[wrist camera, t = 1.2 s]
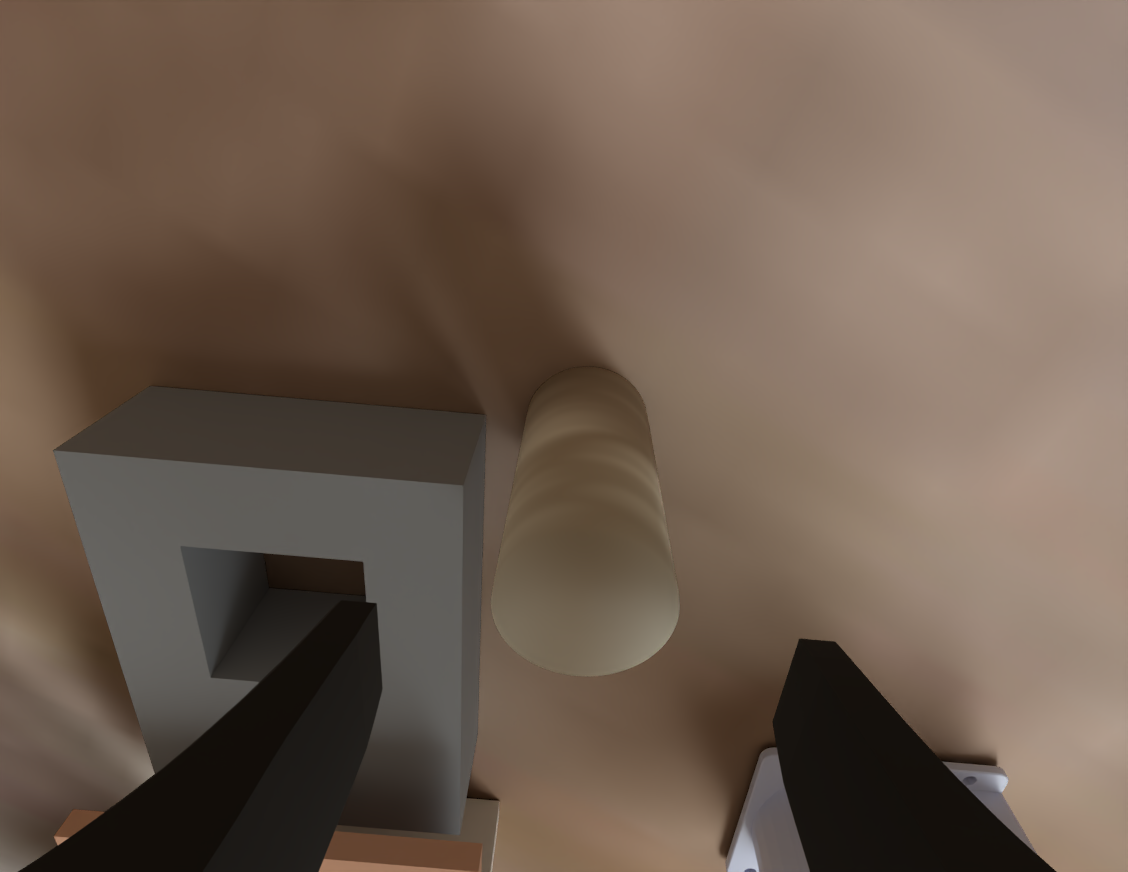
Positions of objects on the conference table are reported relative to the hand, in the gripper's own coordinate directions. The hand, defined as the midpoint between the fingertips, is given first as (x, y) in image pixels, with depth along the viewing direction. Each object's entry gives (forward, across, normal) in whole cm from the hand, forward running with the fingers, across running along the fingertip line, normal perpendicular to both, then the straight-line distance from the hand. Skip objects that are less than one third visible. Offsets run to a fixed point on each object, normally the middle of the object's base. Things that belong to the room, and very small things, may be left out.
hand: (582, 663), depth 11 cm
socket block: (+9, +8, +7) cm, 14 cm away
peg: (+9, 0, 0) cm, 9 cm away
